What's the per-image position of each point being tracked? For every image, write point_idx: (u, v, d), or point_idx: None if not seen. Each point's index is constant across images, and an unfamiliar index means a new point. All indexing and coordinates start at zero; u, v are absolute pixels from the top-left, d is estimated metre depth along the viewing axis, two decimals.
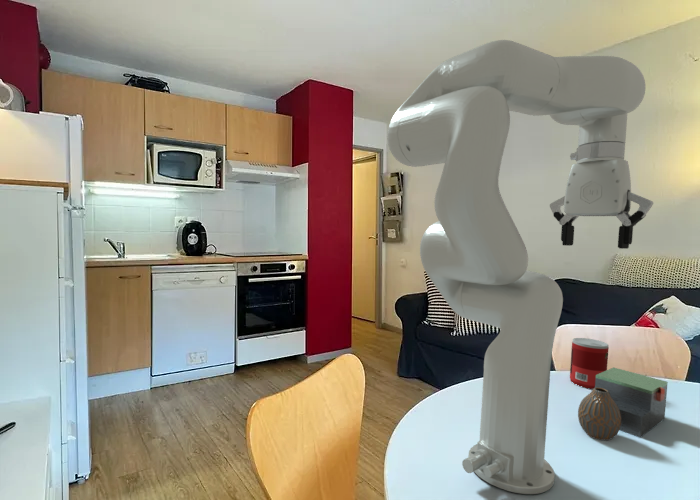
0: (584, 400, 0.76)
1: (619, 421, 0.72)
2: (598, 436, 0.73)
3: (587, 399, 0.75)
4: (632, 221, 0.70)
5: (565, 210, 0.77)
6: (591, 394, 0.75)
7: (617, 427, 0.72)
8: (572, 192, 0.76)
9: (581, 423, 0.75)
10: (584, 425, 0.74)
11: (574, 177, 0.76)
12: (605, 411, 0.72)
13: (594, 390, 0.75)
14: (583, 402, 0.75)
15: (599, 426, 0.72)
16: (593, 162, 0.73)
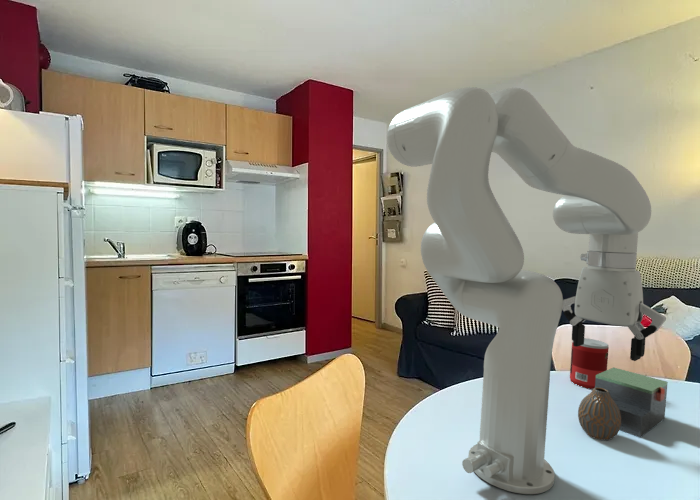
0: (584, 400, 0.76)
1: (619, 421, 0.72)
2: (598, 436, 0.73)
3: (587, 399, 0.75)
4: (645, 334, 0.69)
5: (576, 313, 0.76)
6: (591, 394, 0.75)
7: (617, 427, 0.72)
8: (583, 296, 0.75)
9: (581, 423, 0.75)
10: (584, 425, 0.74)
11: (585, 282, 0.75)
12: (605, 411, 0.72)
13: (594, 390, 0.75)
14: (583, 402, 0.75)
15: (599, 426, 0.72)
16: (604, 270, 0.72)
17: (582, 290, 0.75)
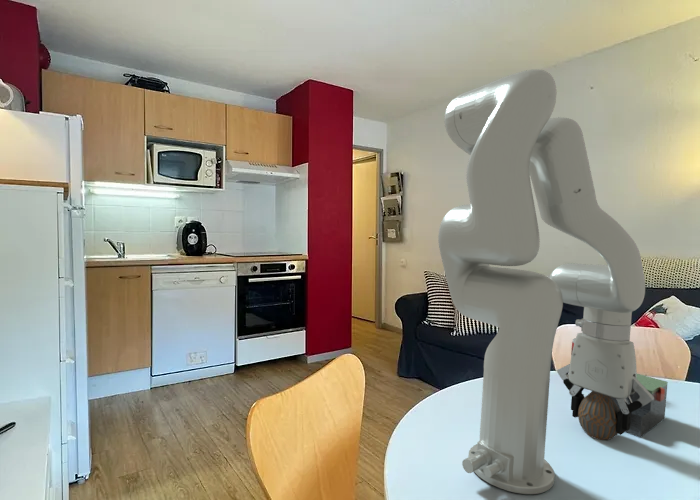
0: (584, 400, 0.76)
1: None
2: (598, 436, 0.73)
3: (587, 399, 0.75)
4: (630, 409, 0.70)
5: (570, 379, 0.77)
6: (591, 394, 0.75)
7: None
8: (577, 363, 0.76)
9: (581, 423, 0.75)
10: (584, 425, 0.74)
11: (579, 349, 0.75)
12: (605, 411, 0.72)
13: None
14: (583, 402, 0.75)
15: (599, 426, 0.72)
16: None
17: (576, 357, 0.76)
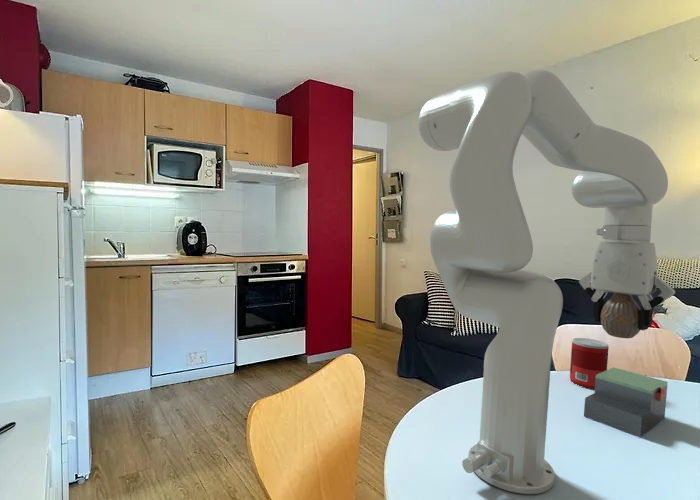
0: (606, 303, 0.79)
1: None
2: (621, 335, 0.76)
3: (609, 301, 0.78)
4: (652, 305, 0.73)
5: (592, 285, 0.80)
6: (613, 297, 0.78)
7: None
8: (599, 268, 0.79)
9: (604, 325, 0.78)
10: (607, 325, 0.77)
11: (601, 254, 0.79)
12: (627, 309, 0.75)
13: None
14: (605, 305, 0.79)
15: (622, 324, 0.75)
16: (620, 243, 0.76)
17: (598, 263, 0.79)
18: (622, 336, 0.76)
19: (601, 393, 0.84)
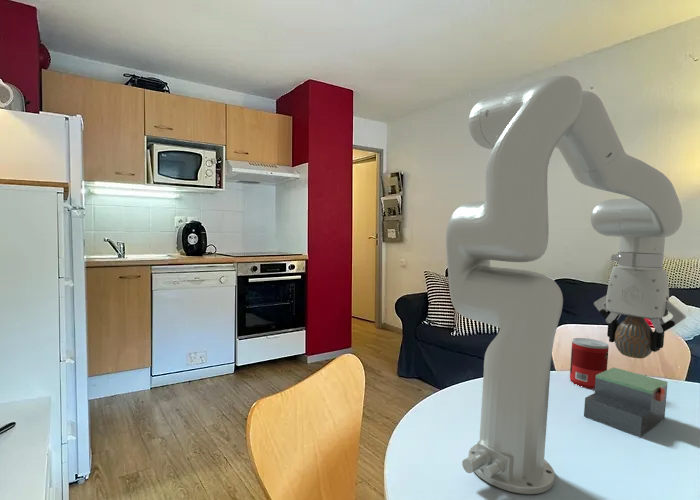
0: (620, 325, 0.84)
1: None
2: (634, 355, 0.81)
3: (623, 323, 0.83)
4: (664, 328, 0.79)
5: (607, 307, 0.85)
6: (627, 319, 0.83)
7: None
8: (614, 292, 0.84)
9: (618, 345, 0.84)
10: (621, 346, 0.83)
11: (616, 279, 0.84)
12: (640, 331, 0.81)
13: None
14: (619, 326, 0.84)
15: (635, 345, 0.81)
16: (634, 269, 0.81)
17: (613, 287, 0.84)
18: (635, 356, 0.82)
19: (601, 393, 0.84)
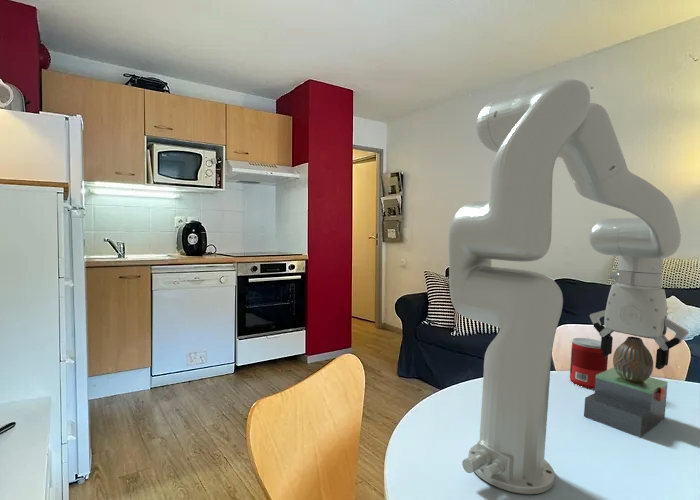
0: (619, 348, 0.84)
1: (652, 364, 0.81)
2: (633, 379, 0.81)
3: (622, 346, 0.83)
4: (669, 346, 0.78)
5: (605, 325, 0.85)
6: (625, 342, 0.83)
7: (650, 370, 0.80)
8: (612, 310, 0.84)
9: (616, 368, 0.83)
10: (620, 369, 0.83)
11: (614, 297, 0.84)
12: (639, 355, 0.81)
13: (628, 338, 0.83)
14: (618, 349, 0.84)
15: (634, 369, 0.81)
16: (633, 288, 0.81)
17: (612, 305, 0.84)
18: (634, 380, 0.81)
19: (601, 393, 0.84)
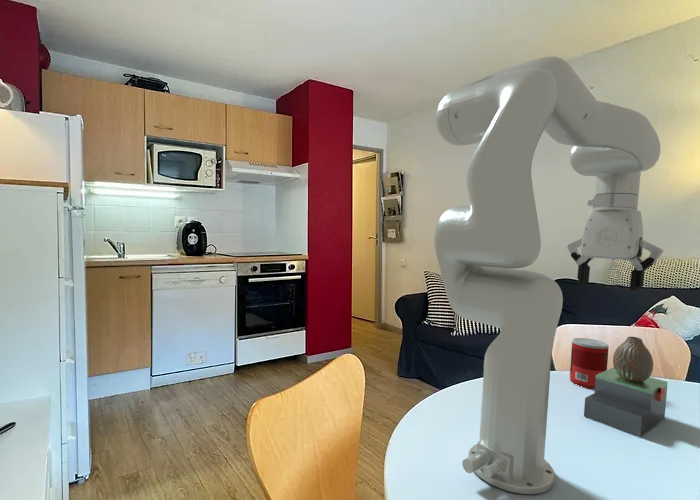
0: (619, 348, 0.84)
1: (652, 364, 0.81)
2: (633, 379, 0.81)
3: (622, 346, 0.83)
4: (643, 266, 0.77)
5: (582, 252, 0.84)
6: (625, 342, 0.83)
7: (650, 370, 0.80)
8: (588, 236, 0.83)
9: (616, 368, 0.83)
10: (620, 369, 0.83)
11: (591, 223, 0.83)
12: (639, 355, 0.81)
13: (628, 338, 0.83)
14: (618, 349, 0.84)
15: (634, 369, 0.81)
16: (609, 210, 0.81)
17: (588, 230, 0.84)
18: (634, 380, 0.81)
19: (601, 393, 0.84)
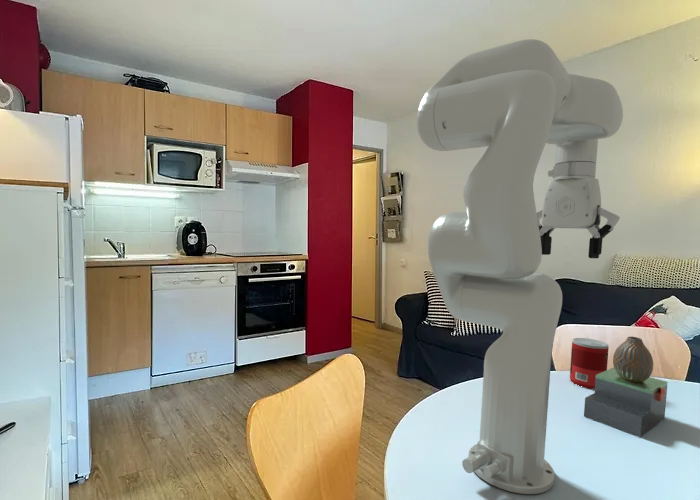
0: (619, 348, 0.84)
1: (652, 364, 0.81)
2: (633, 379, 0.81)
3: (622, 346, 0.83)
4: (601, 233, 0.77)
5: (543, 222, 0.84)
6: (625, 342, 0.83)
7: (650, 370, 0.80)
8: (549, 206, 0.83)
9: (616, 368, 0.83)
10: (620, 369, 0.83)
11: (551, 192, 0.83)
12: (639, 355, 0.81)
13: (628, 338, 0.83)
14: (618, 349, 0.84)
15: (634, 369, 0.81)
16: (567, 179, 0.80)
17: (548, 201, 0.83)
18: (634, 380, 0.81)
19: (601, 393, 0.84)
